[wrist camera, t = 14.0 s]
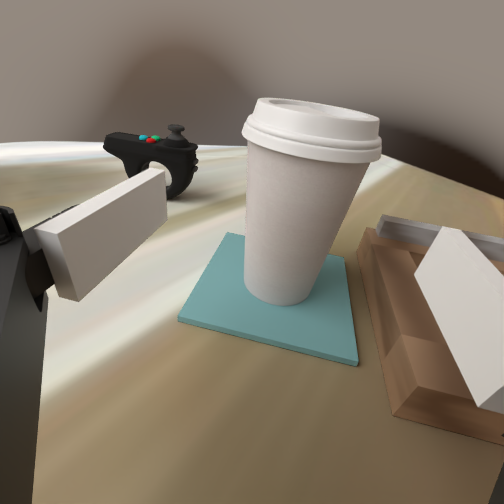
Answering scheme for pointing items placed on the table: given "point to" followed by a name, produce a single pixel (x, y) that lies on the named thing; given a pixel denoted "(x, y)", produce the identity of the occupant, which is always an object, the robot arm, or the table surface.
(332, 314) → the pad
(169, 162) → the controller
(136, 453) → the table surface
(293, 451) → the table surface
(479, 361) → the robot arm
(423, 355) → the cup holder
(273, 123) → the coffee cup
